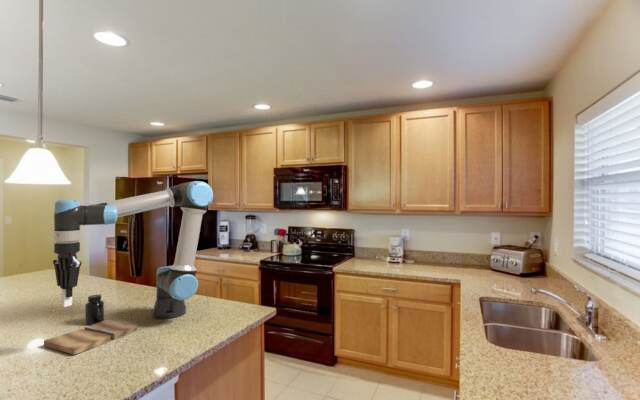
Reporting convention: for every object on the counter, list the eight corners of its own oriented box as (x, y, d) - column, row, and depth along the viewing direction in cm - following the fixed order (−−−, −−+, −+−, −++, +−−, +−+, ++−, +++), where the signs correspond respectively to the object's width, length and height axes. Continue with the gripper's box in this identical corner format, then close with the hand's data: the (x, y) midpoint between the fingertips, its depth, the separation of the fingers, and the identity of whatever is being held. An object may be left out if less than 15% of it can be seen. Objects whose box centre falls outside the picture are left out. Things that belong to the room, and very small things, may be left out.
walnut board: (107, 324, 143) (107, 318, 143) (136, 330, 137) (136, 324, 137) (84, 332, 134) (84, 326, 134) (114, 339, 128) (114, 333, 128)
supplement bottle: (102, 318, 150) (102, 292, 150) (105, 322, 145) (105, 296, 145) (83, 322, 145) (84, 295, 145) (86, 326, 140) (87, 299, 140)
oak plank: (81, 333, 133) (81, 328, 133) (110, 340, 126) (110, 335, 126) (43, 346, 121) (43, 340, 121) (74, 354, 114) (74, 349, 114)
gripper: (44, 242, 119) (44, 306, 119) (67, 244, 114) (67, 311, 114) (67, 239, 126) (66, 300, 126) (89, 241, 121) (89, 304, 121)
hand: (67, 305), depth 120 cm, fingers closed
